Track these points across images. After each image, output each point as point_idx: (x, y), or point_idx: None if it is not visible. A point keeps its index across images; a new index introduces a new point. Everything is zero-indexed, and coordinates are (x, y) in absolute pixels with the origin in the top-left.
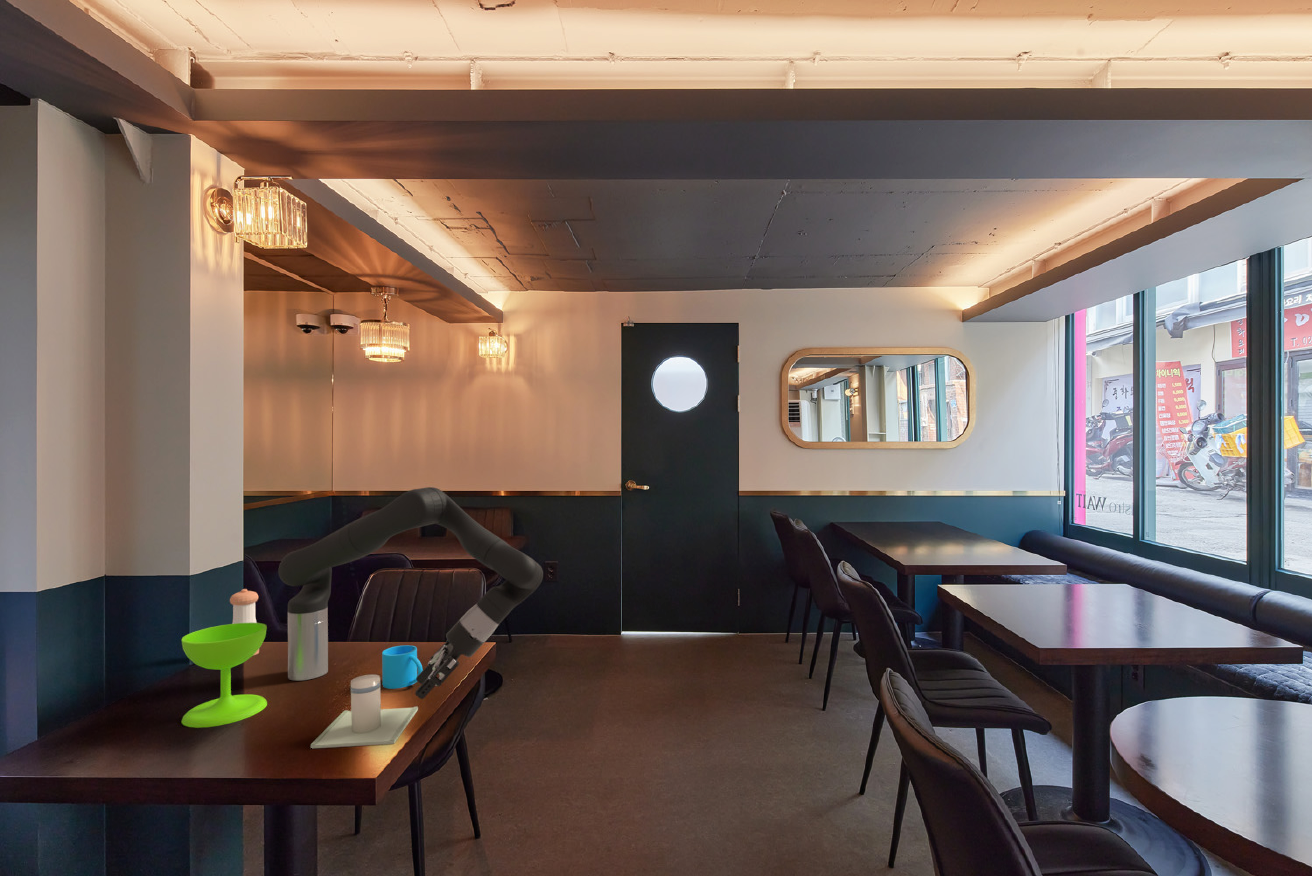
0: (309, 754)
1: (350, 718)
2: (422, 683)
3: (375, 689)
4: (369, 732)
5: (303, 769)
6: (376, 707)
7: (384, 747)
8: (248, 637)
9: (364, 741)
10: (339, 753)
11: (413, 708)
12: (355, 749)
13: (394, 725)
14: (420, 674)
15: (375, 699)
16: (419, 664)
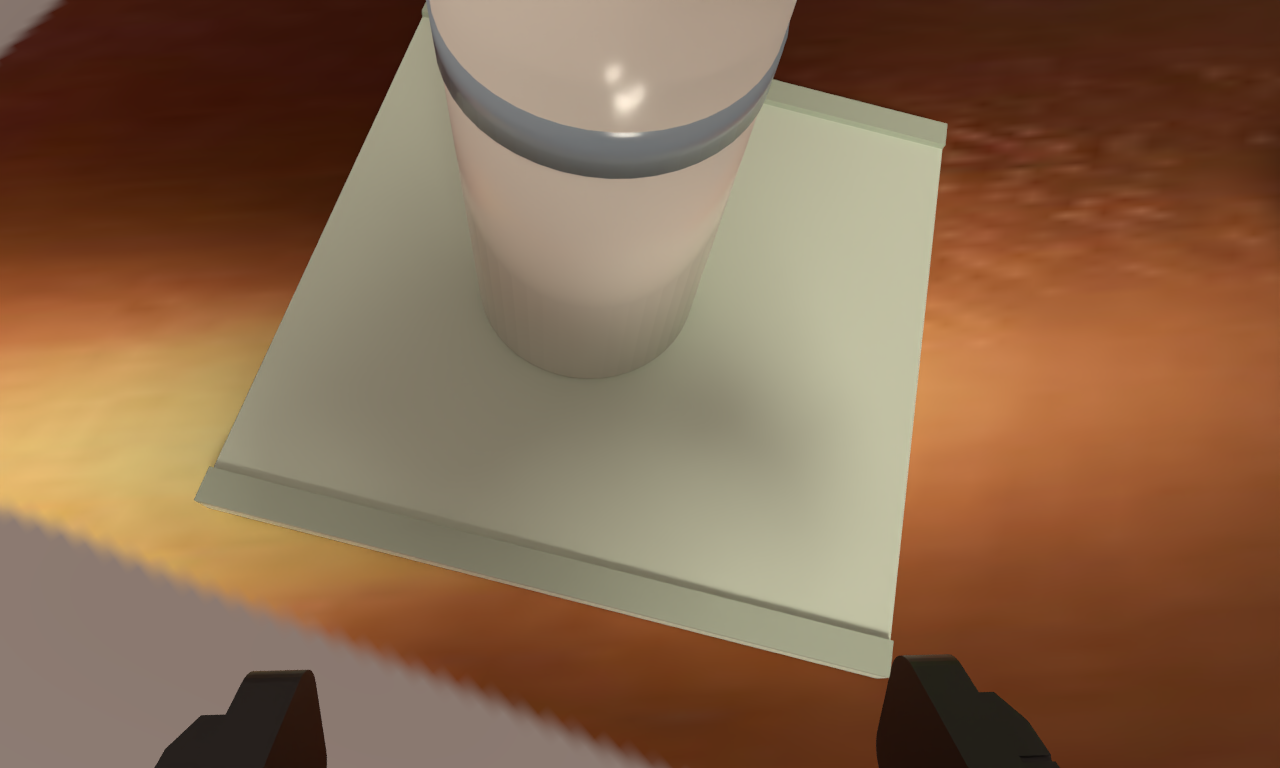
0: (352, 14)
1: (799, 171)
2: (885, 752)
3: (480, 124)
4: (472, 306)
5: (143, 4)
6: (504, 260)
7: (185, 437)
8: None
9: (315, 284)
10: (265, 160)
11: (849, 636)
12: (273, 246)
13: (531, 485)
14: (944, 727)
15: (494, 202)
16: None
